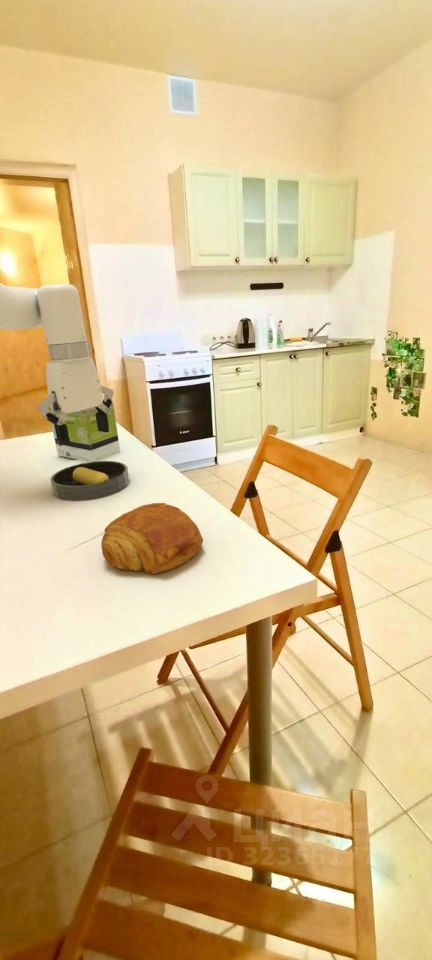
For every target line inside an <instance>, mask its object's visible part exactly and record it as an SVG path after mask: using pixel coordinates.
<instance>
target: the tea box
mask: <svg viewBox="0 0 432 960" xmlns="http://www.w3.org/2000/svg"><path fill="white" fill-rule="evenodd" d="M49 411H50V412H51V413H52V414H54V411H52V409H51V407H50V406H49ZM96 413H98V412H97V411H96V410H95V409H94V408H90V409H86V410H82V411H77V412H73V413H68V414H67V416H66V418H65V421H64V424H66V425H67V429H68V434H69V439H70V443H69V444H63V443H60V442H59V440H58V439H57V436H56V432H55V427H54V424H52V423H51V422H50V424H51V428H52V433H53V438H54V443H55V447H56V452H57V456H58V457H63V458H64V457H65V458H68V459H73V460H78V461H84V462H87V463H88V462H96V461H101V460H102V459H105V458H108V457H110V456H113V455H116V454H119V453H121V449H120V442H119V441H120V440H119V434H118V428H117V419H116V413H115V407H114V401H113V400H112V404H111V406H110V407H109V412H108V413H107V417H108V423H109V426H108V427H109V432H101V431H98V427H97V422H96V416H95V414H96Z"/></svg>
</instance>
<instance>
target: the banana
mask: <svg viewBox="0 0 432 960" xmlns="http://www.w3.org/2000/svg"><path fill="white" fill-rule="evenodd" d="M73 479H74V480H75V481H76V482H77V483H80V484H83V485H91V484H97V483H101V482H105V481H108V480H109V478H108V476H107V475H106V474H104V473H101V472H98V471H94V470H91V469H87V468H84V467H79V468H76V469H75V470H74V472H73Z"/></svg>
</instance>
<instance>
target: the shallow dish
mask: <svg viewBox="0 0 432 960" xmlns="http://www.w3.org/2000/svg"><path fill="white" fill-rule="evenodd" d="M79 467H84V468H87V469H91V470H94V471H98V472H101V473H104V474H106V475H107V476H108V478H109V480H108V481H105V482H101V483H97V484H91V485H83V484H80V483H77V482H76V481H75V480H74V479H73V472H74V470H75V469H76V468H79ZM49 481H50V485H51V490H52V494H53V496H54V497H55V498H57V499H60V500H62V501H68V502H71V501H72V502H81V501H82V502H83V501H90V500H97V499H102V498H106V497H109V496H112V495H114V494H117V493H120V492H121V491H123V490H124V489H125V488H127V487H128V486H129V484H130V481H131V480H130V473H129V467H128V466H127V465H126V464H125V463H123V462H119V461H114V460H98V461H95V462H88V461H87V462H82V463H78V464H74V465H70V466H67V467H65V468H63V469H61V470H58V471H56V472H55V473H53V474H52V475H51V477H50V479H49Z"/></svg>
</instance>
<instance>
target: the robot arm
mask: <svg viewBox="0 0 432 960" xmlns="http://www.w3.org/2000/svg"><path fill="white" fill-rule="evenodd" d="M38 328H43V332H44V338H45V342H46V346H47V351H48V357H49V361H50V362H46V367H45V369H46V371H45V375H46V377H45V379H46V387H47V396H46V397H45V398H44V399H43V400H41V402H40V403H38V404H37V405H36V409H37V411H39V412H40V414H41V415H42V416H43V418H44V419H45V420H46V421H48V422H50V424H51V423H52V424H54V427H55V432H56V436H57V439H58V440H59V442H60V443H63V444H69V443H70V439H69V434H68V429H67V425H66V424H64V421H65V418H66V416H67V414H68V413H73V412H77V411H82V410H86V409H90V408H94V409H95V410H96V411H97V412H98V413H96V414H95V416H96V422H97V427H98V431H101V432H109V427H108V426H109V423H108V417H107V413H108V412H109V407H110V406H111V404H112V401H113V397H114V393H115V392H114V390H113V389H111V388H108V387H106V386H103V385H101V381H100V376H99V374H98V370H97V366H96V364H95V361H94V359H93V357H91V356H90V352H91V351H93V345H92V344H91V343H88V341H87V340H88V339H87V335H86V327H85V322H84V318H83V311H82V305H81V299H80V294H79V291H78V288H77V287H76V286H75V285H73V284H70V283H53V284H45V285H41V286H39V288H37V287H35V288H34V287H23V286H13V285H12V286H11V285H5V284H3V283H1V282H0V330H3V331H4V330H5V331H17V330H18V331H19V330H33V329H38ZM103 395H104V396H103ZM49 406H50V407H51V409H52V411H54V414H52V413H51V412H50V411H49ZM52 424H51V425H52Z"/></svg>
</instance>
